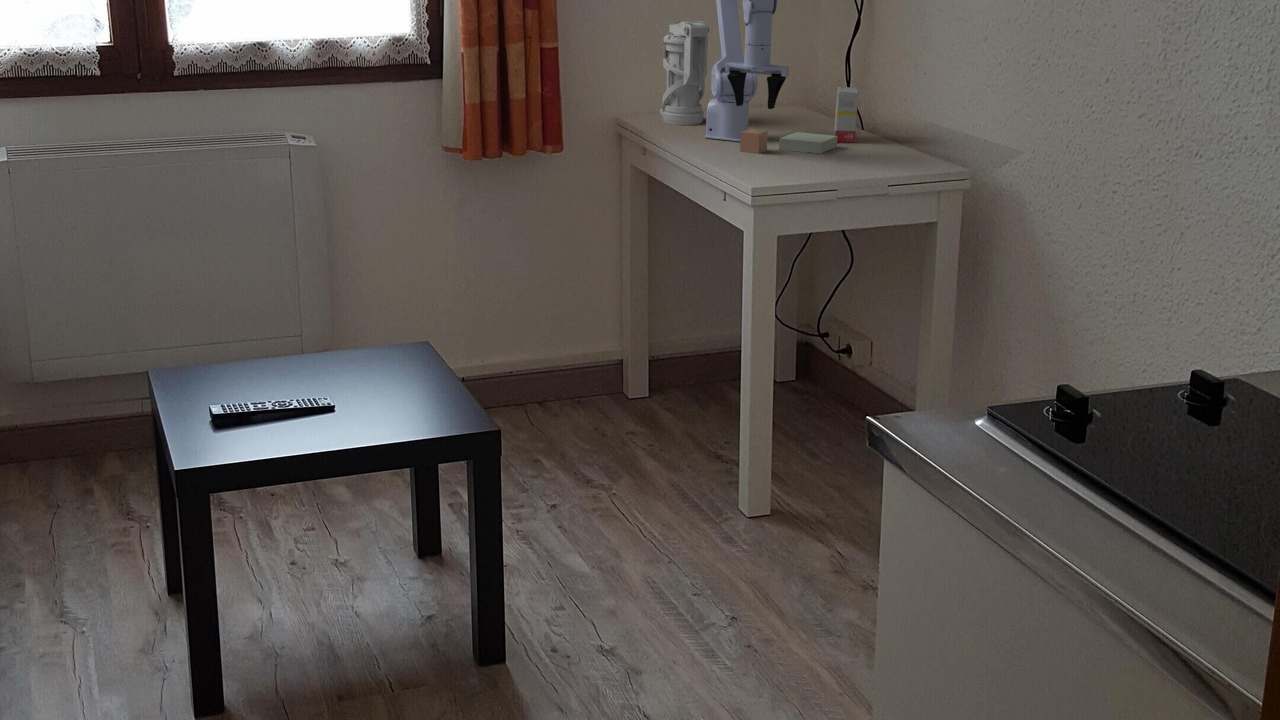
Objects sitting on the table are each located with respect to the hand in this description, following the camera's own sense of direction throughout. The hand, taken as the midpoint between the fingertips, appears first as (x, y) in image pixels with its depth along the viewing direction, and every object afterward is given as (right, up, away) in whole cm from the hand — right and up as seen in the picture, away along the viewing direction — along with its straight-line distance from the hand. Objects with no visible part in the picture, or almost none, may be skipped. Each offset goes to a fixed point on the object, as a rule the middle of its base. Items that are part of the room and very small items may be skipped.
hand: (755, 106), depth 301 cm
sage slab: (+13, -8, +7) cm, 17 cm away
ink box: (+23, -4, +18) cm, 30 cm away
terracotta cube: (0, -9, +3) cm, 10 cm away
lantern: (-14, +3, +38) cm, 41 cm away
